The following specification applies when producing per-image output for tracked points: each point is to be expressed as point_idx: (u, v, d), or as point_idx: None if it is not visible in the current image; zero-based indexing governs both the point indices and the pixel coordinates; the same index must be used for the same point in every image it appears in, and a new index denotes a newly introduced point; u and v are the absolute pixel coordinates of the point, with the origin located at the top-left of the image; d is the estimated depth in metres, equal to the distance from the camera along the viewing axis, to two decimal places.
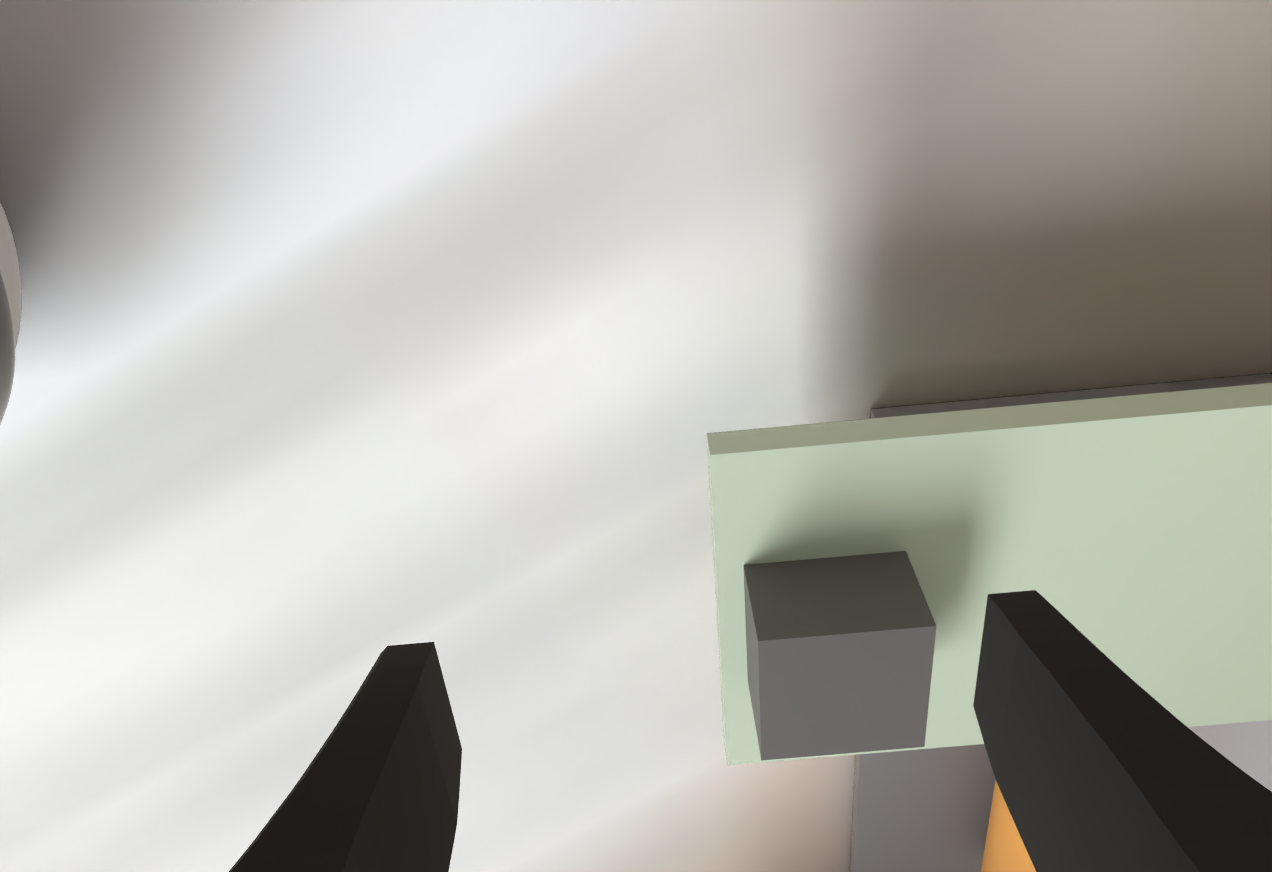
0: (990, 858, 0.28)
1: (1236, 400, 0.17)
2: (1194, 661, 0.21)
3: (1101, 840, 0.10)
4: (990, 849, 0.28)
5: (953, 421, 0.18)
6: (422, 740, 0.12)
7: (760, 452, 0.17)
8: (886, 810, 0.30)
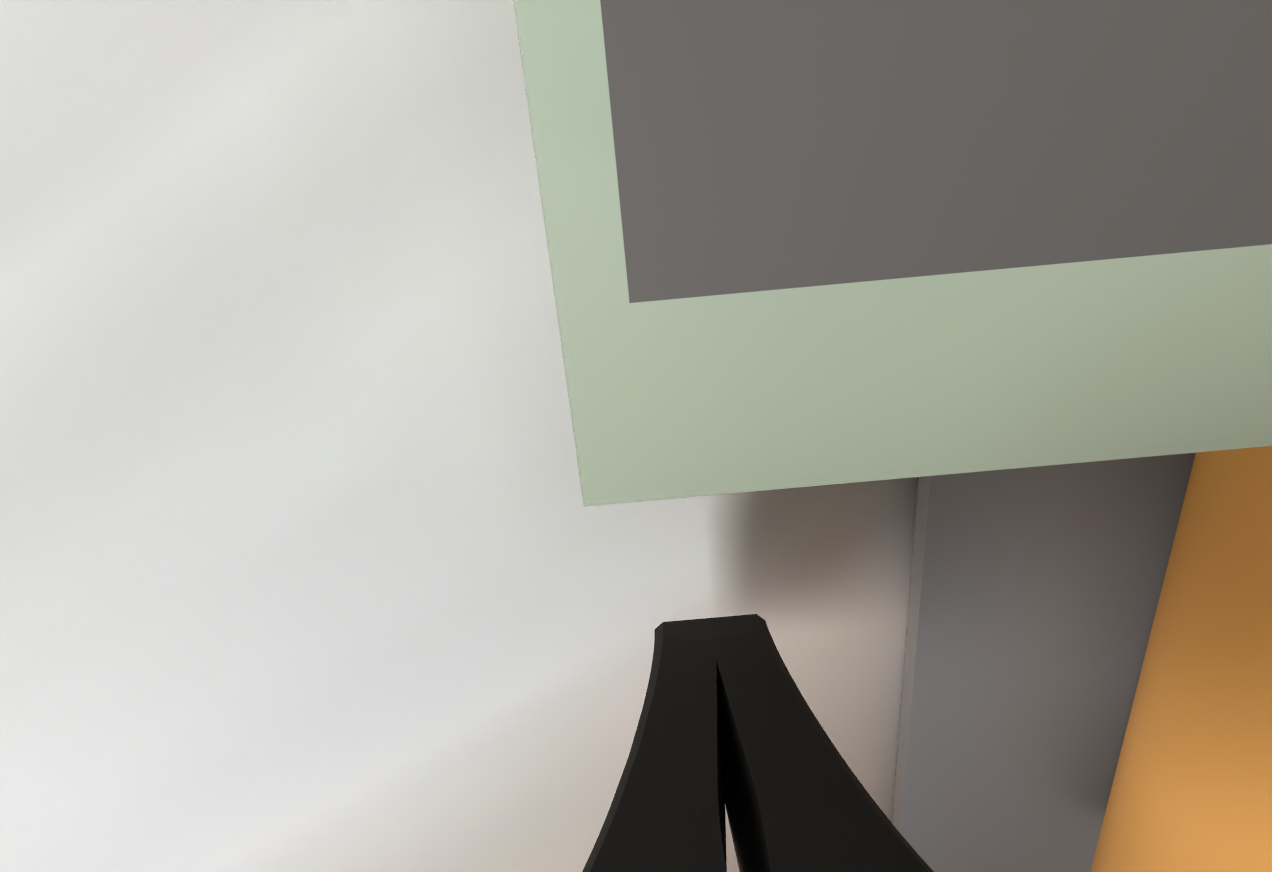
0: (1115, 778, 0.15)
1: None
2: None
3: (758, 869, 0.10)
4: (1118, 760, 0.15)
5: None
6: (718, 715, 0.12)
7: None
8: (966, 730, 0.15)
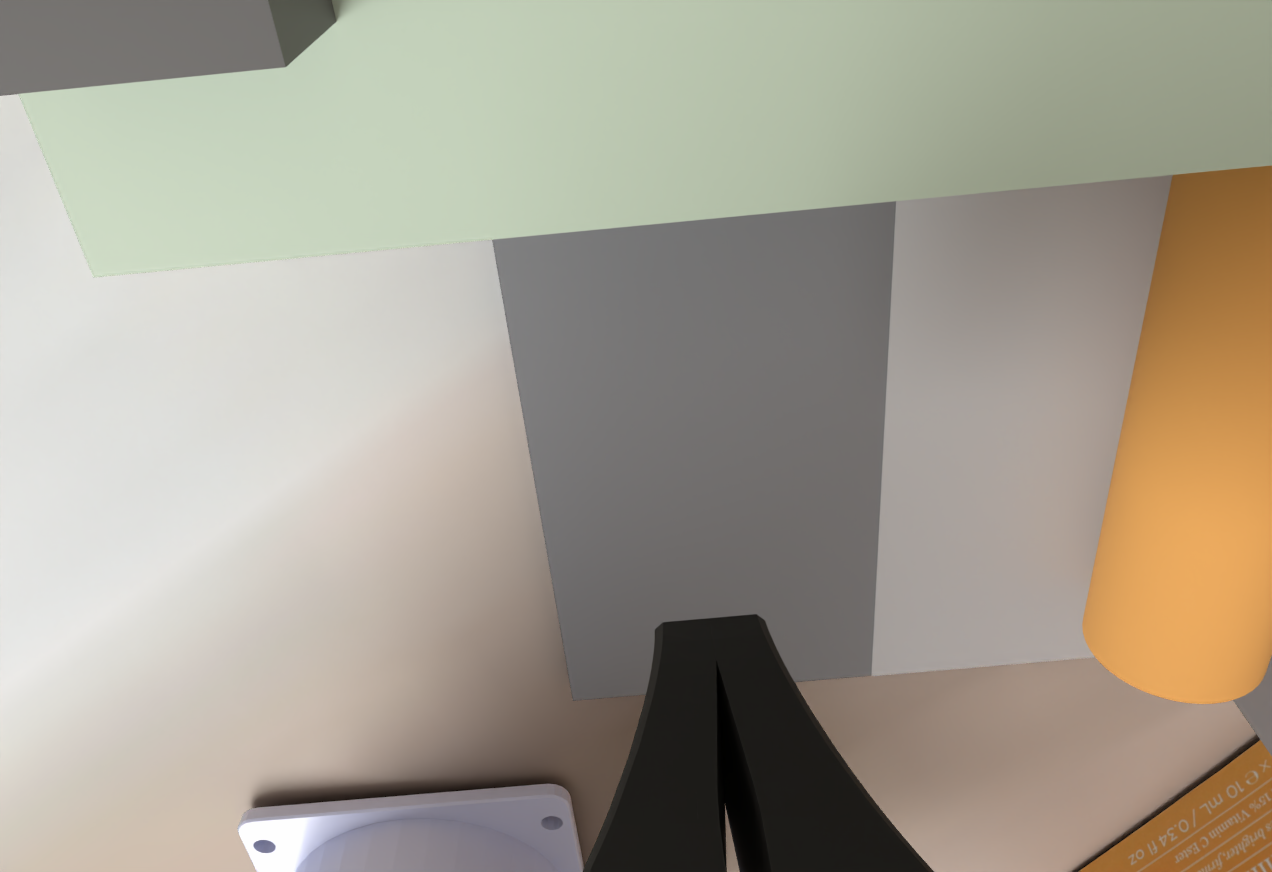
0: None
1: None
2: (922, 20, 0.11)
3: (758, 869, 0.10)
4: None
5: None
6: (718, 715, 0.12)
7: None
8: (589, 539, 0.20)
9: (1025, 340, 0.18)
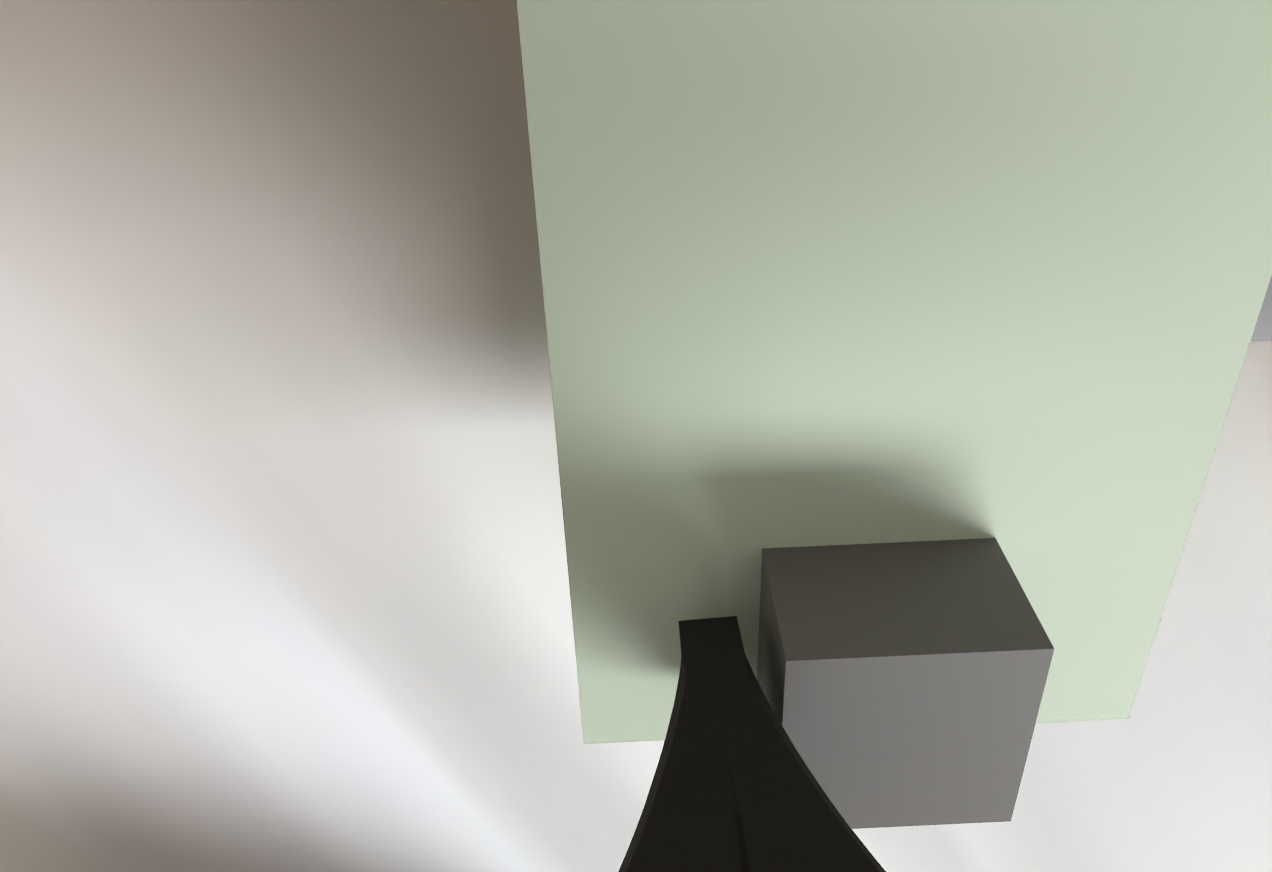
0: None
1: None
2: (1148, 40, 0.10)
3: None
4: None
5: None
6: None
7: (582, 702, 0.14)
8: None
9: None
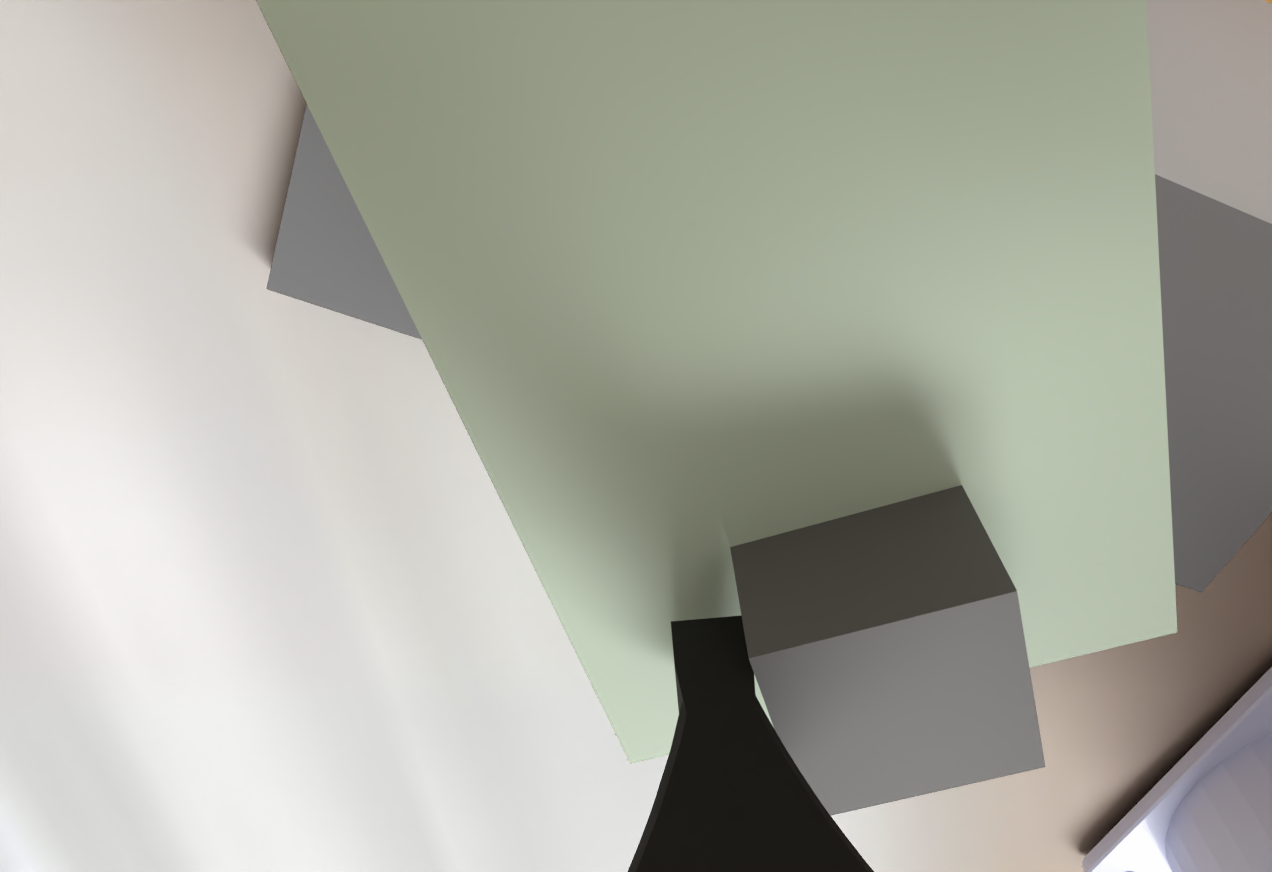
0: None
1: None
2: None
3: None
4: None
5: None
6: None
7: (614, 726, 0.15)
8: None
9: None
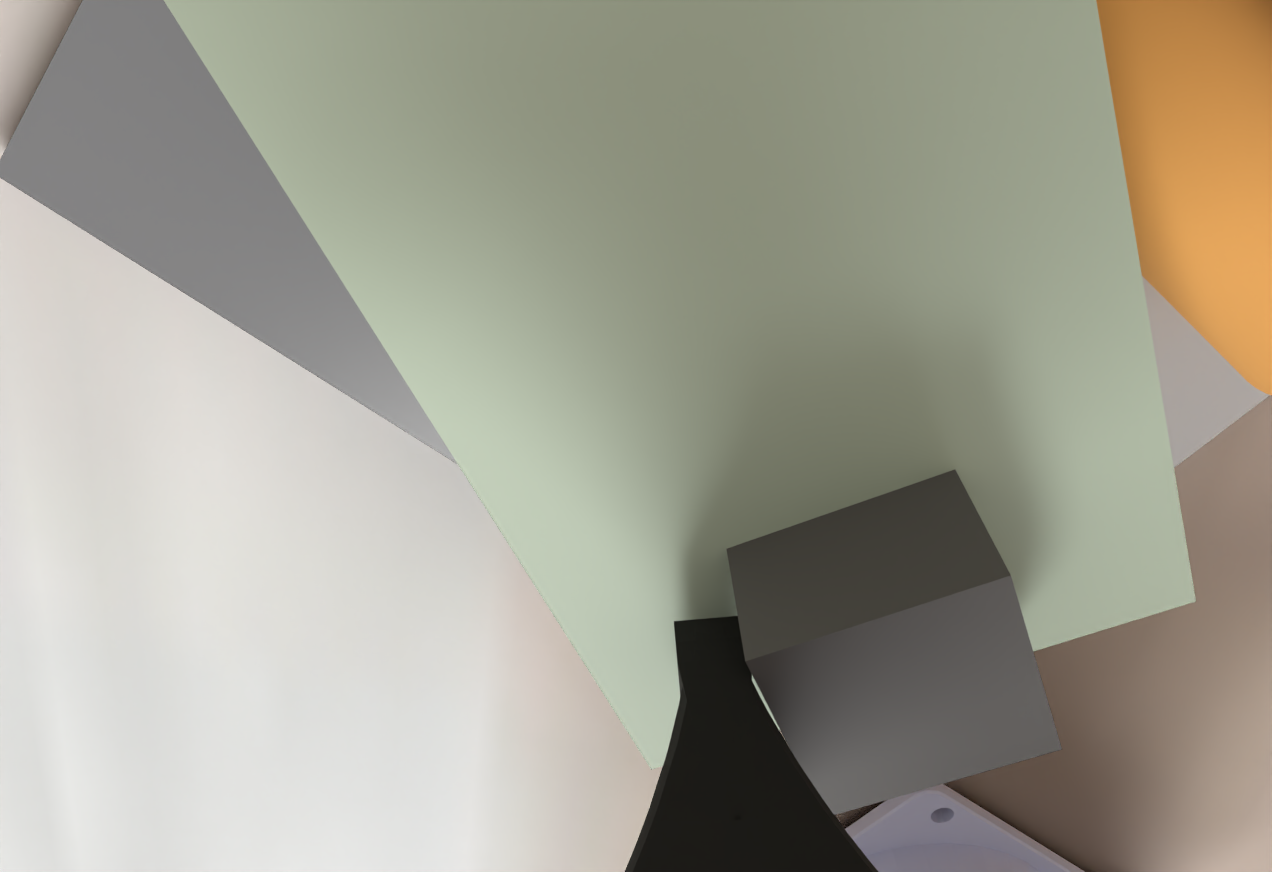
0: None
1: None
2: None
3: None
4: None
5: None
6: None
7: (631, 733, 0.15)
8: None
9: None
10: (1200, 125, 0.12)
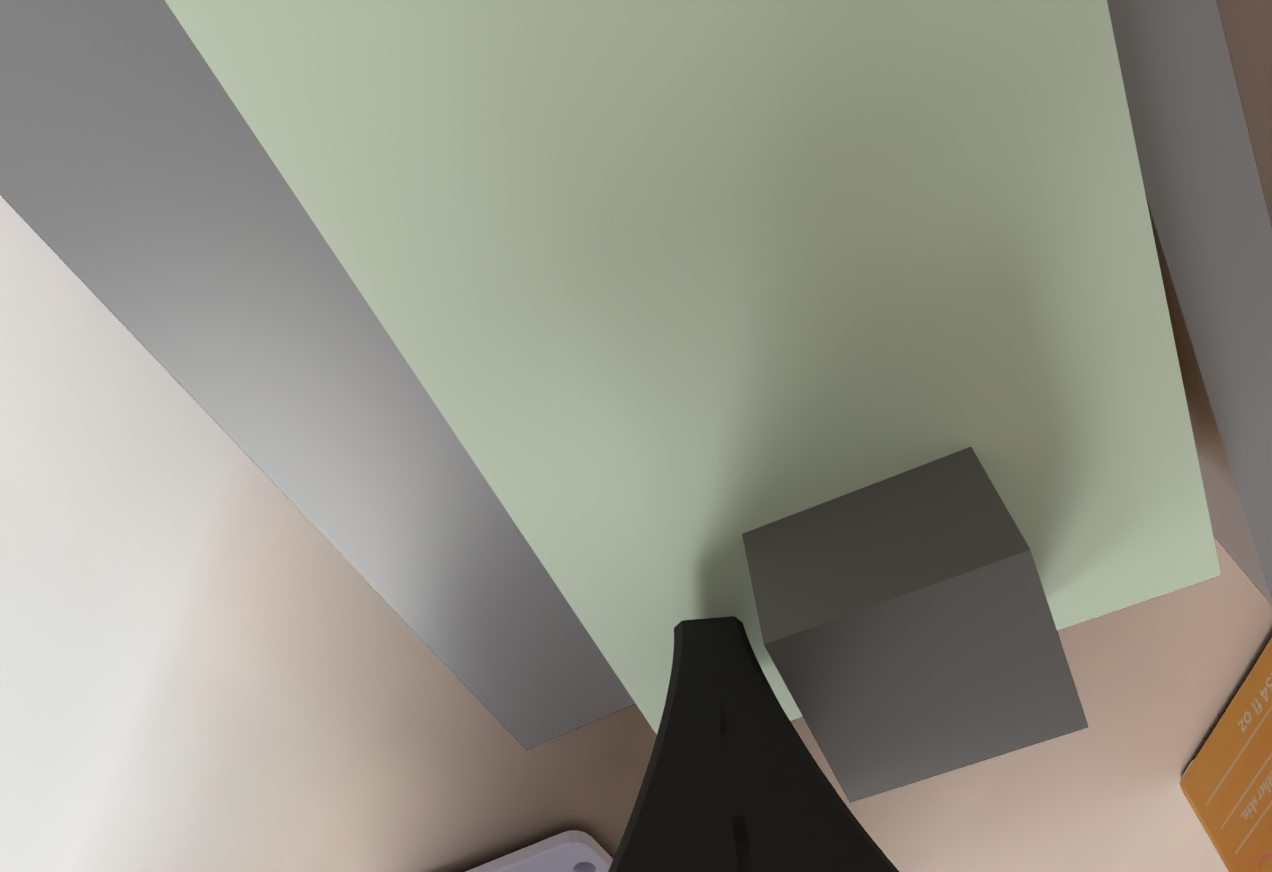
0: None
1: None
2: None
3: None
4: None
5: None
6: None
7: (652, 724, 0.15)
8: (436, 597, 0.19)
9: None
10: None
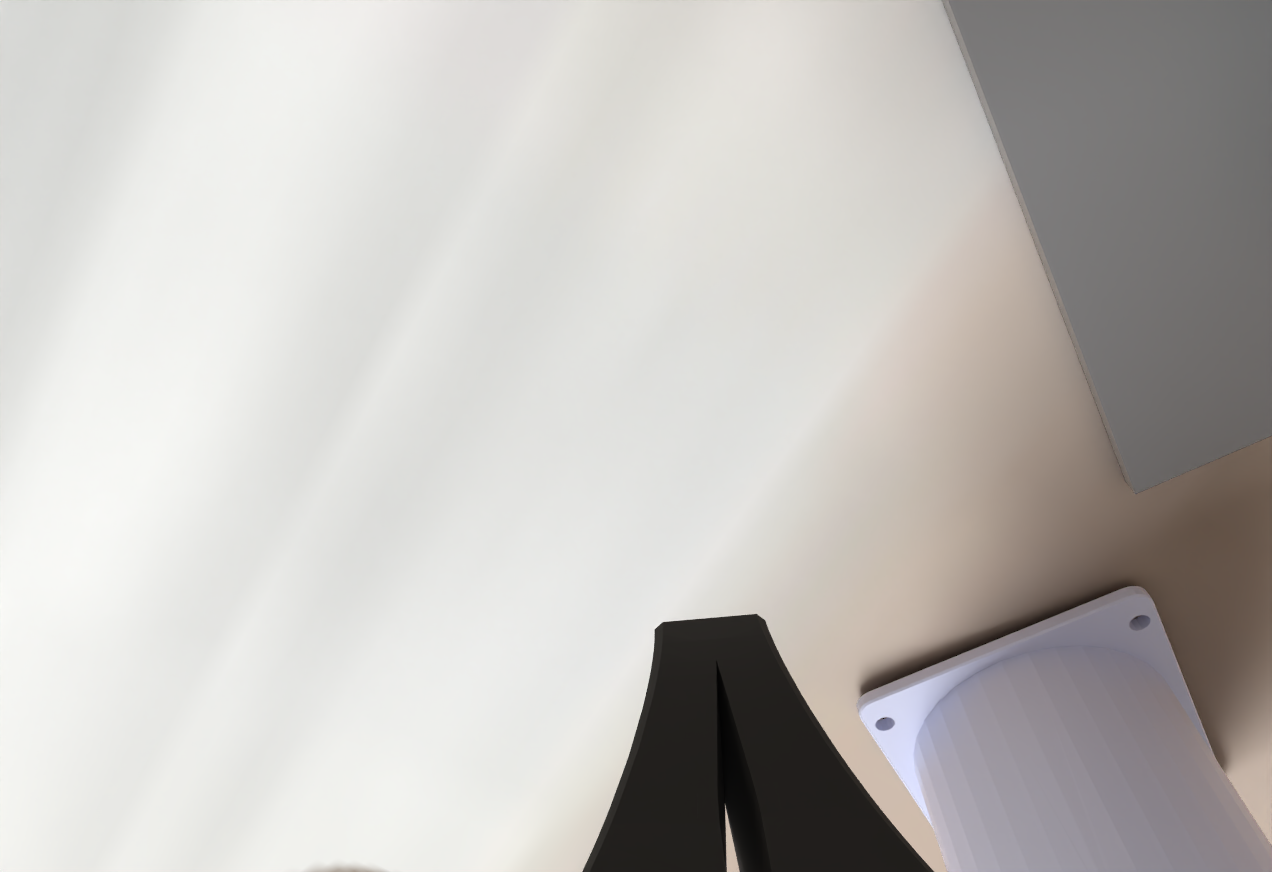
0: None
1: None
2: None
3: (758, 869, 0.10)
4: None
5: None
6: (718, 715, 0.12)
7: None
8: (1120, 330, 0.21)
9: None
10: None
